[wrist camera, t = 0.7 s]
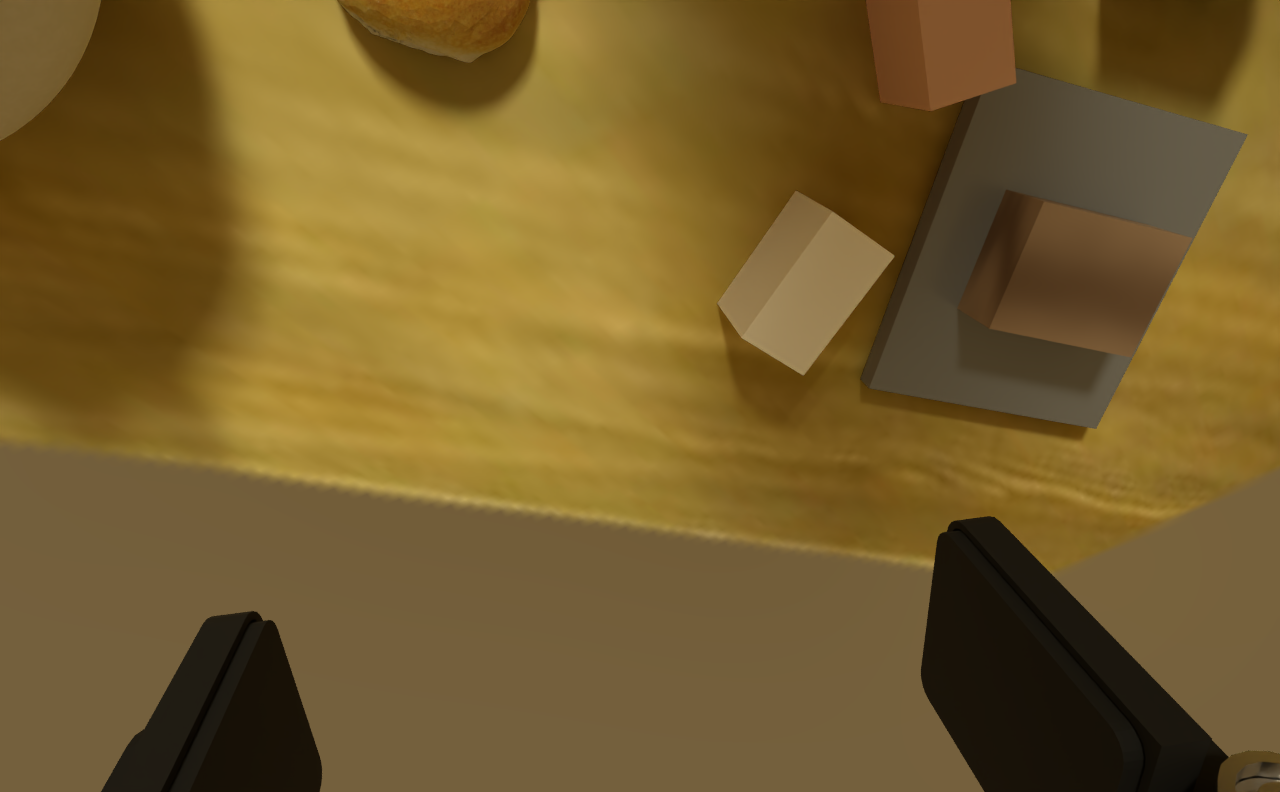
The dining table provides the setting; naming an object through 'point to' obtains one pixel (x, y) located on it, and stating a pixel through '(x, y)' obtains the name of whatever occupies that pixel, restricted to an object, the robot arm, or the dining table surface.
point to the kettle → (39, 53)
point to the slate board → (1054, 170)
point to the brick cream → (802, 282)
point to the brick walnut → (1070, 274)
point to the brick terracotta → (940, 50)
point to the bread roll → (442, 23)
